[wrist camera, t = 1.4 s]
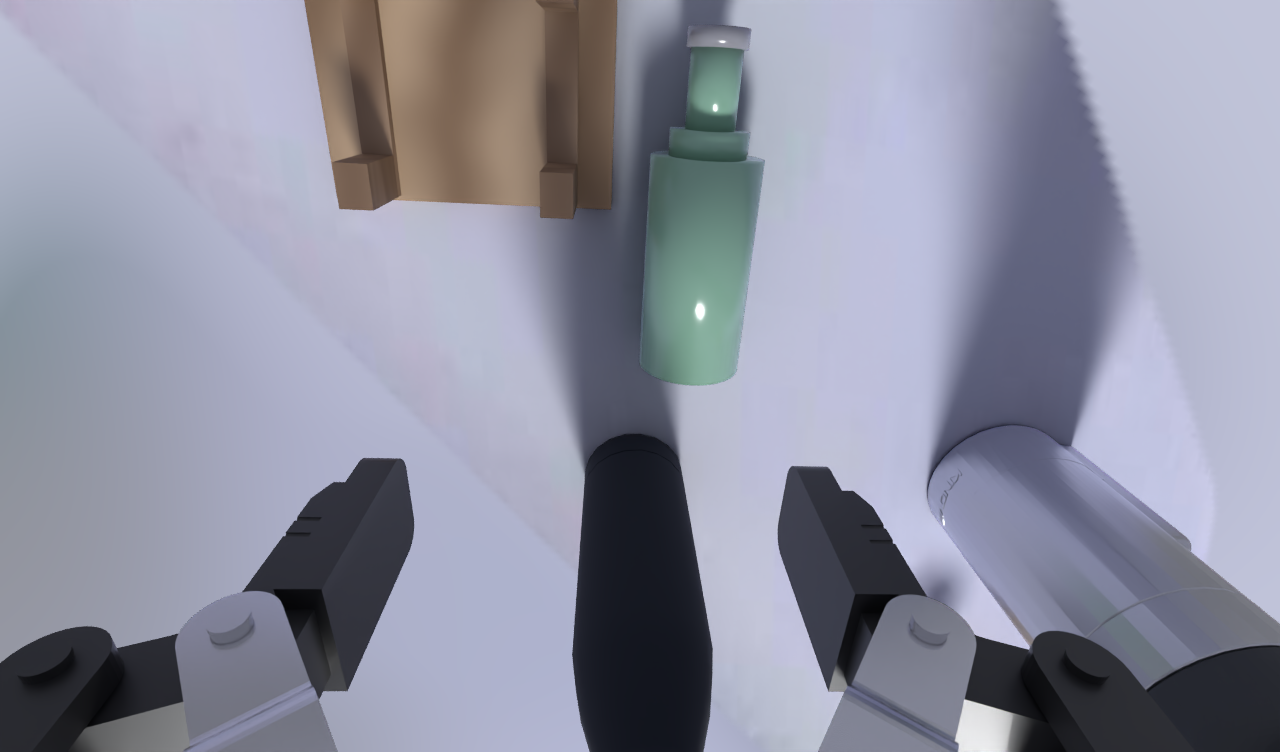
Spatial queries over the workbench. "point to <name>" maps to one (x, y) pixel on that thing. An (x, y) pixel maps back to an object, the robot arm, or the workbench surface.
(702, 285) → the green bottle
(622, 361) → the workbench surface
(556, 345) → the workbench surface
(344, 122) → the u rest
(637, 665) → the wine bottle
